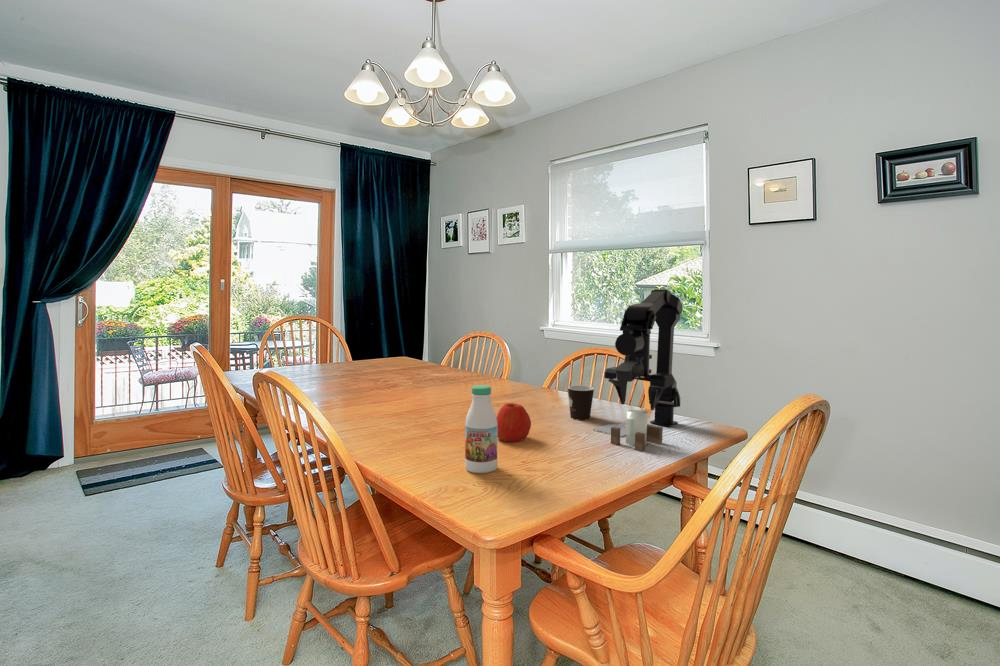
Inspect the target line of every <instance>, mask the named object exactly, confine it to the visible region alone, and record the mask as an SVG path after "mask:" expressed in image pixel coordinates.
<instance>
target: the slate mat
mask: <svg viewBox="0 0 1000 666" xmlns="http://www.w3.org/2000/svg"><path fill="white" fill-rule="evenodd" d="M612 427H618V428H620V438H624V437H626V436H625V435H626V425H624V426H623V425H620V424H615V423H610V424H609V423H608V424H605V425H603V426H599V427H595V428H593V430H592V431H594V430H597V431H596V432H598V431H601V432H600V433H602V432H605V433H604V434H606V433H609V434H608V435H610V434H611V428H612ZM623 436H624V437H623Z"/></svg>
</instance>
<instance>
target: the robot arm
mask: <svg viewBox="0 0 1000 666" xmlns="http://www.w3.org/2000/svg"><path fill="white" fill-rule="evenodd" d="M682 313H683V303H682V301H681V299H680V298H679V297H678V296H676V295H675V294H673V293H671V290H669V289H665V288H661V289H658V288H655V289H651V292H650V294H649V295H648V296H647V297H645V299H643V300H642V301H641V302H639V303H633V304H631V305H629V306H627V308H626V310H625V311H624V313H623V317H622V321H621V324H620V327H619V330H620V331H622V334H620V335H619V336H617V338H616V340H615V342H614V347H615V349H616V351H617V352H618V353H619V354H620V355H623V356H625V357H624V361H623V362H621V363H620V364H619V365H617V366H612V367H607V368H606V369H605V371H604V372H603V373H604V375H603V376H604V377H603V378H604V379H606V380H607V379H608V383H611V384H612V385H613V386H614V387H615V389H616V392H617V395H618V397H619V398H618V399H619V401H620V404H621V405H625V403H626V397H627V389H628V387H627V386H628V383H629V382H630V383H631V382H633V381H635V380H638V381H643V382H644V381H646V382H649V387H648V390H647V393H648V403H649V405H650V407H649V408H650V411H654V417H653V418H654V419H653V420H651V421H649V423H650V424H651V425H656V426H661V427H668V428H669V427H672V426H675V425H677V424H679V423H678V421H676V420H674V417H675V416H674V415H675V413H674V412H675V411H674V410H675V409H674V408H679V407H681V396H680V393H679V389H678V388H677V384H678V383H677V381H676V379H675V377H674V375H673V357H674V355H673V354H674V353H673V352H674V339H675V338H674V336H675V327H676V326H677V324H679V321H680V320H681V314H682ZM655 323H656V325H657V326H658V333H657V334H658V337H657V351H656V353H657V354H656V355H657V357H656V373H654V374H652V369H650V360H652V357H653V354H650V350H651V349H650V346H651V334H652V330H653V328H654V325H655Z"/></svg>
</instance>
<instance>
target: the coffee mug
mask: <svg viewBox="0 0 1000 666" xmlns="http://www.w3.org/2000/svg"><path fill="white" fill-rule="evenodd" d="M594 390H595V388H594V387H593V386H589V385H570V386H568V387H567V396H568V405H569V415H570V418H571V419H572V418H573V419H572V420H576V419H579V420H578V421H585V419H587V420H590V419H589V418H591V412H592V404H593V398H594Z"/></svg>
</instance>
